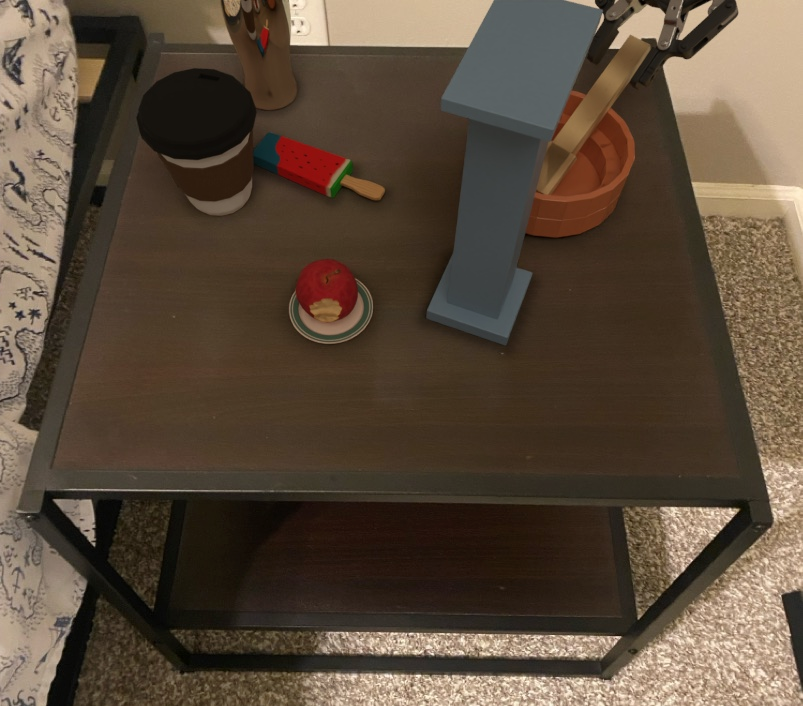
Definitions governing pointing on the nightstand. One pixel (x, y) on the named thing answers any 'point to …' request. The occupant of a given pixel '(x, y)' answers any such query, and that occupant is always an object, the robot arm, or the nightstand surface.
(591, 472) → the nightstand surface
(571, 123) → the stick
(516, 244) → the stand
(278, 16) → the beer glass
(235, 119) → the coffee cup
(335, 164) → the popsicle
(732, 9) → the robot arm
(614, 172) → the bowl
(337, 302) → the apple
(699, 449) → the nightstand surface
